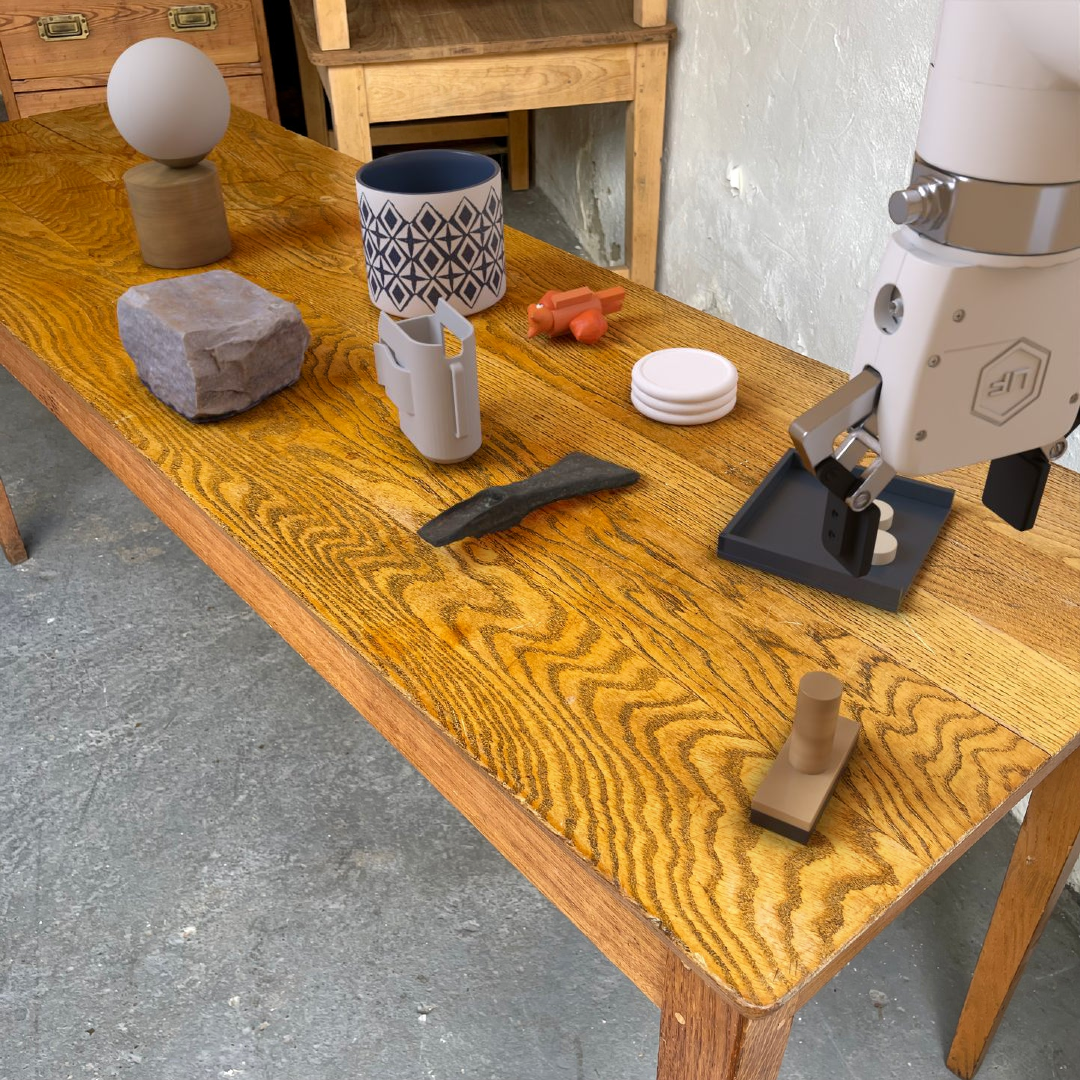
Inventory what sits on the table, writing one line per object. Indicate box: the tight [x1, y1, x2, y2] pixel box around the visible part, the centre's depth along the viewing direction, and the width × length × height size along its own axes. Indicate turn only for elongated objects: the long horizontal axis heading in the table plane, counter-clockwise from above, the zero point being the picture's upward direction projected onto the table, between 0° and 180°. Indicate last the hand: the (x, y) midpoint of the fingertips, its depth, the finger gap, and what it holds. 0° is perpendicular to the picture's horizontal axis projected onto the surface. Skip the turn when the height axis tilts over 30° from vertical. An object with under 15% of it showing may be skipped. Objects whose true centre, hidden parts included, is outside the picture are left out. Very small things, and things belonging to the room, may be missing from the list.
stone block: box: [116, 269, 312, 425], centre depth 110 cm, size 17×12×15 cm
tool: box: [415, 451, 642, 548], centre depth 90 cm, size 21×8×3 cm, turn 135°
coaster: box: [630, 347, 739, 426], centre depth 105 cm, size 10×10×4 cm
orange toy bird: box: [526, 285, 627, 345], centre depth 117 cm, size 5×8×12 cm
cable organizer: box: [372, 298, 483, 465], centre depth 97 cm, size 7×12×12 cm, turn 27°
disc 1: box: [873, 499, 894, 531], centre depth 87 cm, size 3×3×1 cm
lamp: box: [106, 36, 233, 270], centre depth 136 cm, size 15×14×25 cm
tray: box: [716, 446, 956, 614], centre depth 87 cm, size 14×15×2 cm
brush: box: [749, 670, 862, 847], centre depth 64 cm, size 4×9×8 cm, turn 149°
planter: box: [354, 148, 507, 320], centre depth 124 cm, size 16×16×14 cm
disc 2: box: [872, 530, 897, 565], centre depth 84 cm, size 3×3×1 cm
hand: (927, 538), depth 56 cm, fingers open, 9 cm apart
